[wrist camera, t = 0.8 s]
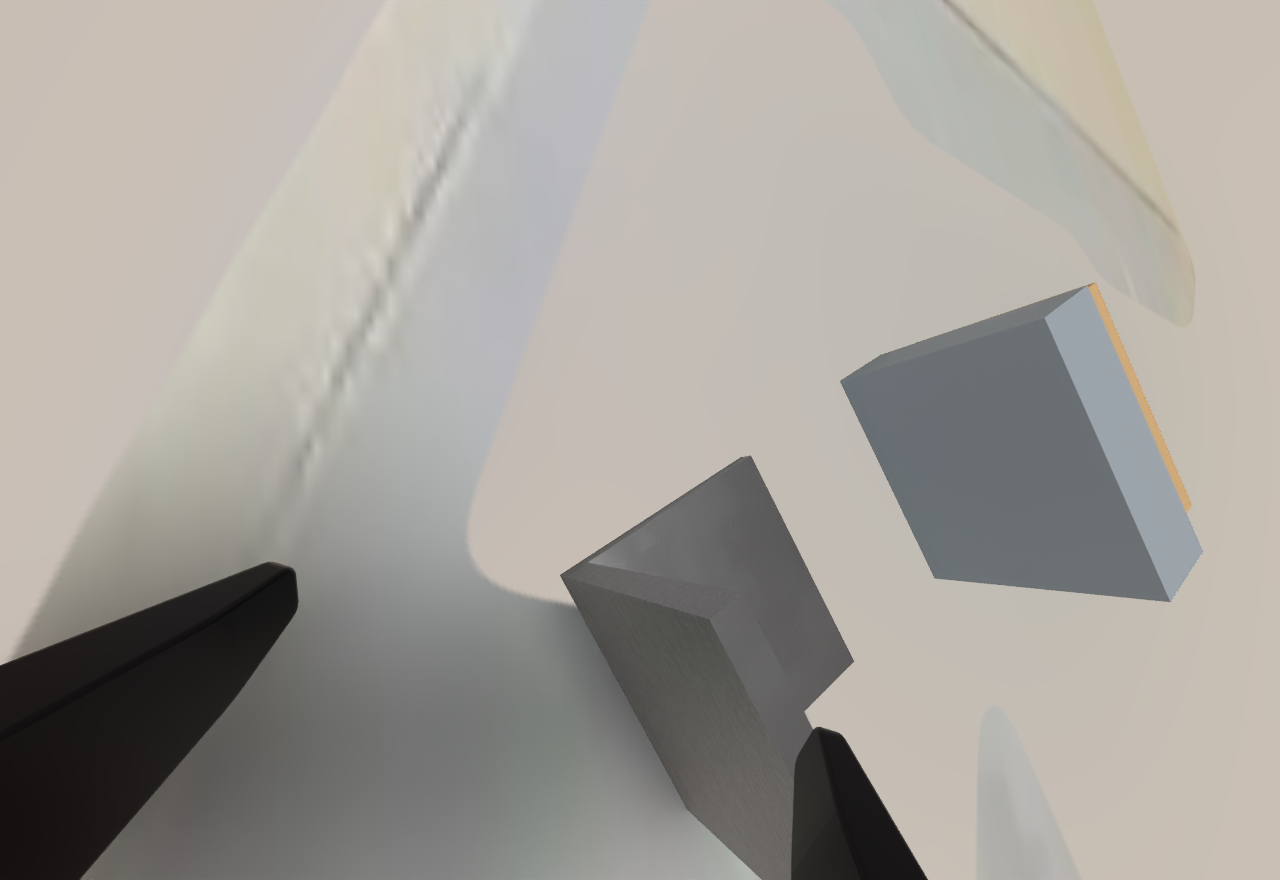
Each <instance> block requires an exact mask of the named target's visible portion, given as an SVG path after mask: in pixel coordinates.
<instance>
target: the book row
mask: <svg viewBox="0 0 1280 880" xmlns="http://www.w3.org/2000/svg"><path fill="white" fill-rule="evenodd" d="M840 382H841V384H842V386H843V388H844V390H845V393H846V395H847V397H848V399H849V401H850V403H851V405H852V407H853V409H854V411H855V413H856V415H857V417H858V420H859V422H860V424H861V426H862V428H863V430H864V432H865V434H866V436H867V438H868V440H869V442H870V445H871V447H872V449H873V451H874V453H875V455H876V457H877V459H878V461H879V463H880V465H881V467H882V470H883V472H884V474H885V476H886V478H887V480H888V482H889V484H890V486H891V488H892V490H893V492H894V494H895V497H896V498H897V501H898V503H899V505H900V507H901V509H902V511H903V513H904V515H905V517H906V519H907V521H908V524H909V526H910V527H911V530H912V532H913V534H914V536H915V538H916V540H917V542H918V544H919V546H920V549H921V551H922V552H923V555H924V557H925V559H926V561H927V563H928V565H929V567H930V569H931V571H932V573H933V576H934V578H937V579H947V580H957V581H967V582H977V583H987V584H997V585H1007V586H1016V587H1026V588H1036V589H1046V590H1056V591H1066V592H1076V593H1086V594H1096V595H1106V596H1116V597H1126V598H1136V599H1146V600H1156V601H1166V602H1171V600H1172V599H1173V597H1174V596H1175V594H1176V593H1177V591H1178V589H1179V588H1180V586H1181V585H1182V583H1183V582H1184V580H1185V579H1186V577H1187V576H1188V574H1189V572H1190V571H1191V569H1192V567H1193V566H1194V565H1195V563H1196V562H1197V560H1198V559H1199V557H1200V555H1201V554H1202V552H1203V551H1202V549H1201V546H1200V544H1199V541H1198V539H1197V537H1196V535H1195V532H1194V530H1193V527H1192V525H1191V523H1190V521H1189V518H1188V516H1187V514H1186V513H1187V512H1188V510H1189V509H1190V507H1191V506H1192V504H1191V502H1190V500H1189V497H1188V495H1187V492H1186V490H1185V488H1184V485H1183V483H1182V481H1181V479H1180V476H1179V474H1178V471H1177V469H1176V467H1175V465H1174V462H1173V460H1172V458H1171V456H1170V453H1169V451H1168V448H1167V446H1166V444H1165V441H1164V439H1163V437H1162V435H1161V432H1160V430H1159V428H1158V425H1157V423H1156V421H1155V418H1154V416H1153V414H1152V411H1151V409H1150V407H1149V404H1148V402H1147V400H1146V397H1145V395H1144V393H1143V391H1142V388H1141V386H1140V384H1139V381H1138V379H1137V377H1136V374H1135V372H1134V370H1133V367H1132V365H1131V363H1130V360H1129V358H1128V356H1127V353H1126V351H1125V349H1124V346H1123V344H1122V342H1121V340H1120V337H1119V335H1118V333H1117V330H1116V328H1115V326H1114V324H1113V321H1112V319H1111V316H1110V314H1109V312H1108V309H1107V307H1106V305H1105V303H1104V300H1103V298H1102V296H1101V293H1100V291H1099V289H1098V286H1097V284H1096V283H1092V284H1089V285H1087V286H1083V287H1080V288H1077V289H1074V290H1071V291H1068V292H1066V293H1063V294H1060V295H1057V296H1054V297H1051V298H1048V299H1045V300H1042V301H1039V302H1036V303H1033V304H1030V305H1027V306H1024V307H1021V308H1018V309H1015V310H1012V311H1009V312H1006V313H1003V314H1000V315H997V316H994V317H991V318H988V319H986V320H982V321H980V322H977V323H974V324H971V325H968V326H965V327H962V328H959V329H956V330H953V331H950V332H947V333H944V334H941V335H938V336H935V337H932V338H929V339H926V340H923V341H920V342H917V343H915V344H912V345H909V346H906V347H903V348H900V349H897V350H894V351H891V352H888V353H885V354H883V355H880V356H879V357H877V358H875V359H874V360H872V361H871V362H869V363H868V364H866V365H865V366H863V367H861V368H860V369H859V370H857V371H855V372H853V373H852V374H851V375H849V376H847V377H846V378H844V379H842V380H841V381H840Z"/></svg>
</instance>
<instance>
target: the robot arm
mask: <svg viewBox="0 0 1280 880" xmlns="http://www.w3.org/2000/svg"><path fill="white" fill-rule="evenodd" d="M297 608H298V590H297V580H296V572H295V571H294V569H293V568H291V567H289V566H285V565H282V564H279V563H275V562H266V563H263V564H260V565H258V566H255V567H252V568H250V569H247V570H245V571H242V572H240V573H237V574H234V575H232V576H229V577H227V578H224V579H222V580H219V581H216V582H214V583H211V584H209V585H206V586H204V587H201V588H198V589H196V590H193V591H191V592H188V593H185V594H183V595H180V596H178V597H175V598H173V599H170V600H167V601H165V602H162V603H160V604H157V605H155V606H152V607H149V608H147V609H144V610H142V611H139V612H136V613H134V614H131V615H129V616H126V617H124V618H121V619H118V620H116V621H113V622H111V623H108V624H106V625H103V626H100V627H98V628H95V629H93V630H90V631H88V632H85V633H82V634H80V635H77V636H75V637H72V638H69V639H67V640H64V641H62V642H59V643H57V644H54V645H51V646H49V647H46V648H44V649H41V650H39V651H36V652H33V653H31V654H28V655H26V656H23V657H20V658H18V659H15V660H13V661H10V662H8V663H5V664H2V665H0V880H80V879H81V878H82V876H83V875H84V874H85V873H86V872H87V871H88V869H89V868H90V867H91V866H92V865H93V864H94V862H95V861H96V860H97V859H98V858H99V857H100V855H101V854H102V853H103V852H104V851H105V850H106V848H107V847H108V846H109V845H110V844H111V843H112V841H113V840H114V839H115V838H116V837H117V836H118V834H119V833H120V832H121V831H122V830H123V829H124V827H125V826H126V825H127V824H128V823H129V822H130V820H131V819H132V818H133V817H134V816H135V815H136V814H137V812H138V811H139V810H140V809H141V808H142V807H143V805H144V804H145V803H146V802H147V801H148V800H149V798H150V797H151V796H152V795H153V794H154V793H155V791H156V790H157V789H158V788H159V787H160V786H161V784H162V783H163V782H164V781H165V780H166V779H167V777H168V776H169V775H170V774H171V773H172V772H173V770H174V769H175V768H176V767H177V766H178V765H179V763H180V762H181V761H182V760H183V759H184V758H185V756H186V755H187V754H188V753H189V752H190V751H191V749H192V748H193V747H194V746H195V745H196V744H197V742H198V741H199V740H200V739H201V738H202V737H203V735H204V734H205V733H206V732H207V731H208V730H209V729H210V727H211V726H212V725H213V724H214V723H215V722H216V720H217V719H218V718H219V717H220V716H221V715H222V713H223V712H224V711H225V710H226V709H227V707H228V706H229V705H230V704H231V702H232V701H233V700H234V699H235V698H236V696H237V695H238V694H239V692H240V691H241V690H242V688H243V687H244V686H245V684H246V683H247V681H248V680H249V679H250V677H251V676H252V674H253V673H254V671H255V670H256V669H257V667H258V666H259V664H260V663H261V662H262V660H263V659H264V657H265V656H266V655H267V653H268V652H269V650H270V649H271V648H272V646H273V645H274V643H275V642H276V641H277V639H278V638H279V636H280V635H281V633H282V632H283V631H284V629H285V628H286V626H287V625H288V624H289V622H290V621H291V619H292V618H293V616H294V615H295V613H296V610H297ZM791 880H928V879H927V877H926V876H925V874H924V872H923V870H922V869H921V867H920V865H919V864H918V862H917V860H916V859H915V857H914V855H913V853H912V852H911V850H910V848H909V847H908V845H907V843H906V842H905V840H904V838H903V837H902V835H901V833H900V831H899V830H898V828H897V826H896V825H895V823H894V821H893V820H892V818H891V816H890V814H889V813H888V811H887V809H886V808H885V806H884V804H883V802H882V801H881V799H880V797H879V796H878V794H877V792H876V791H875V789H874V787H873V786H872V784H871V782H870V780H869V779H868V777H867V775H866V774H865V772H864V771H863V769H862V767H861V765H860V763H859V762H858V760H857V758H856V757H855V755H854V753H853V751H852V750H851V748H850V746H849V745H848V743H847V741H846V740H845V738H844V737H843V736H842V735H841V734H840V733H838V732H835V731H832V730H828V729H825V728H822V727H816V728H815V729H813V731H812V732H811V734H810V735H809V737H808V739H807V741H806V742H805V744H804V746H803V747H802V749H801V751H800V752H799V754H798V756H797V759H796V763H795V770H794V795H793V821H792V847H791Z"/></svg>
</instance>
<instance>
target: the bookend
mask: <svg viewBox="0 0 1280 880" xmlns="http://www.w3.org/2000/svg"><path fill="white" fill-rule="evenodd" d="M560 576H561V578H562V580H563V582H564V584H565V585H566V587H567V589H568V591H569V593H570V595H571V597H572V598H573V600H574V602H575V604H576V605H577V607H578V609H579V611H580V613H581V614H582V616H583V618H584V620H585V622H586V624H587V625H588V627H589V629H590V631H591V633H592V635H593V637H594V638H595V640H596V642H597V644H598V646H599V648H600V649H601V651H602V653H603V655H604V657H605V659H606V660H607V662H608V664H609V666H610V668H611V670H612V671H613V673H614V675H615V677H616V679H617V681H618V682H619V684H620V686H621V688H622V690H623V692H624V694H625V695H626V697H627V699H628V701H629V703H630V705H631V706H632V708H633V710H634V712H635V714H636V716H637V717H638V719H639V721H640V723H641V725H642V727H643V728H644V730H645V732H646V734H647V736H648V738H649V740H650V741H651V743H652V745H653V747H654V749H655V751H656V752H657V754H658V756H659V758H660V760H661V762H662V763H663V765H664V767H665V769H666V771H667V773H668V774H669V776H670V778H671V780H672V782H673V784H674V785H675V787H676V789H677V791H678V793H679V795H680V797H681V798H682V800H683V802H684V804H685V806H686V808H687V809H688V811H690V812H691V813H692V814H693V815H694V816H695V817H696V818H697V819H698V820H699V821H700V822H701V823H702V824H703V825H704V826H705V827H706V828H708V829H709V830H710V831H711V832H712V833H713V834H714V835H715V836H716V837H717V838H718V839H719V840H720V841H721V842H722V843H723V844H725V845H726V846H727V847H728V848H729V849H730V850H731V851H732V852H733V853H734V854H735V855H736V856H737V857H738V858H739V859H740V860H741V861H743V862H744V863H745V864H746V865H747V866H748V867H749V868H750V869H751V870H752V871H753V872H754V873H755V874H756V875H757V876H758V877H760V878H761V879H762V880H791V847H792V821H793V795H794V770H795V763H796V759H797V756H798V754H799V752H800V751H801V749H802V747H803V746H804V744H805V742H806V741H807V739H808V737H809V735H810V734H811V732H812V731H813V729H812V727H811V725H810V723H809V721H808V719H807V717H806V715H805V713H804V711H805V710H806V709H807V708H808V707H809V706H810V705H811V704H812V703H813V702H814V701H815V700H816V699H817V698H818V697H819V696H820V695H821V694H822V693H823V692H824V691H825V690H826V689H827V688H828V687H829V686H830V685H831V684H832V683H833V682H834V681H835V680H836V679H837V678H838V677H839V676H840V675H841V674H842V673H843V672H844V671H845V670H846V669H847V668H848V667H849V666H850V665H851V664H852V663H853V662H854V660H853V658H852V656H851V654H850V652H849V650H848V648H847V646H846V644H845V643H844V640H843V639H842V637H841V634H840V632H839V631H838V628H837V626H836V624H835V623H834V621H833V618H832V616H831V614H830V613H829V611H828V609H827V607H826V605H825V603H824V601H823V599H822V597H821V595H820V593H819V591H818V589H817V587H816V585H815V583H814V581H813V579H812V577H811V575H810V573H809V571H808V569H807V567H806V565H805V563H804V561H803V559H802V557H801V555H800V553H799V551H798V549H797V547H796V545H795V543H794V541H793V539H792V537H791V535H790V533H789V531H788V529H787V527H786V525H785V523H784V521H783V519H782V517H781V515H780V513H779V511H778V509H777V507H776V505H775V503H774V501H773V499H772V497H771V495H770V493H769V491H768V489H767V487H766V485H765V483H764V481H763V479H762V477H761V475H760V473H759V471H758V469H757V467H756V465H755V463H754V461H753V459H752V457H751V456H746V457H740V458H739V459H737V460H736V461H735V462H733V463H731V464H730V465H728V466H727V467H725V468H724V469H722V470H720V471H719V472H717V473H716V474H714V475H713V476H711V477H710V478H708V479H707V480H705V481H704V482H702V483H701V484H699V485H697V486H696V487H695V488H693V489H691V490H690V491H688V492H687V493H685V494H684V495H682V496H681V497H679V498H678V499H676V500H674V501H673V502H671V503H670V504H668V505H667V506H665V507H664V508H662V509H661V510H659V511H658V512H656V513H655V514H653V515H651V516H650V517H648V518H647V519H645V520H644V521H642V522H641V523H639V524H638V525H636V526H634V527H633V528H631V529H630V530H628V531H627V532H625V533H624V534H622V535H621V536H619V537H618V538H616V539H615V540H613V541H612V542H610V543H609V544H607V545H605V546H604V547H602V548H601V549H599V550H598V551H596V552H595V553H593V554H591V555H590V556H588V557H587V558H585V559H584V560H582V561H581V562H579V563H578V564H576V565H575V566H573V567H572V568H570V569H569V570H567V571H565V572H564V573H562V574H561V575H560Z"/></svg>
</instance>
